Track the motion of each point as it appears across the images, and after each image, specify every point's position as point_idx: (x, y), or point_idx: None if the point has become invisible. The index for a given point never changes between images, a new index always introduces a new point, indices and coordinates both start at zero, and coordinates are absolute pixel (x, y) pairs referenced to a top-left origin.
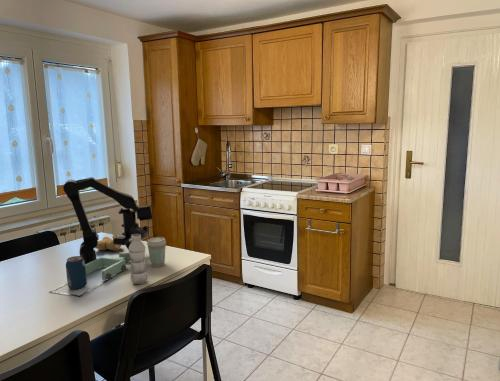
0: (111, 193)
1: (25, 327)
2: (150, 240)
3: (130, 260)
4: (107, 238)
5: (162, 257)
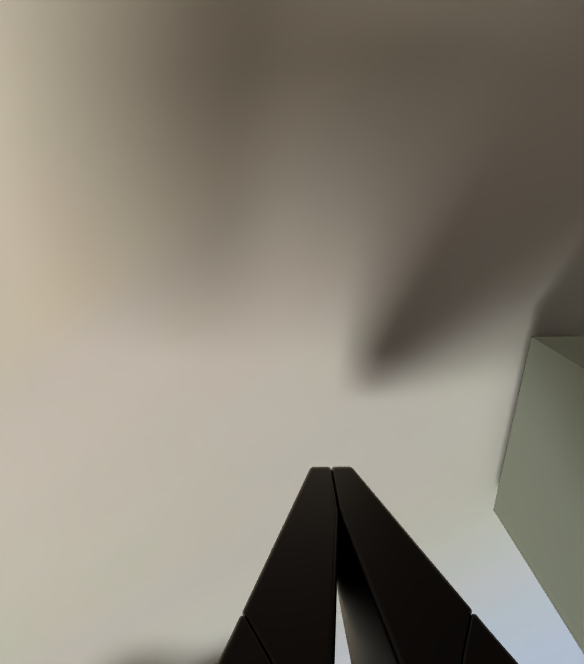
0: None
1: None
2: None
3: (542, 338)
4: None
5: None
